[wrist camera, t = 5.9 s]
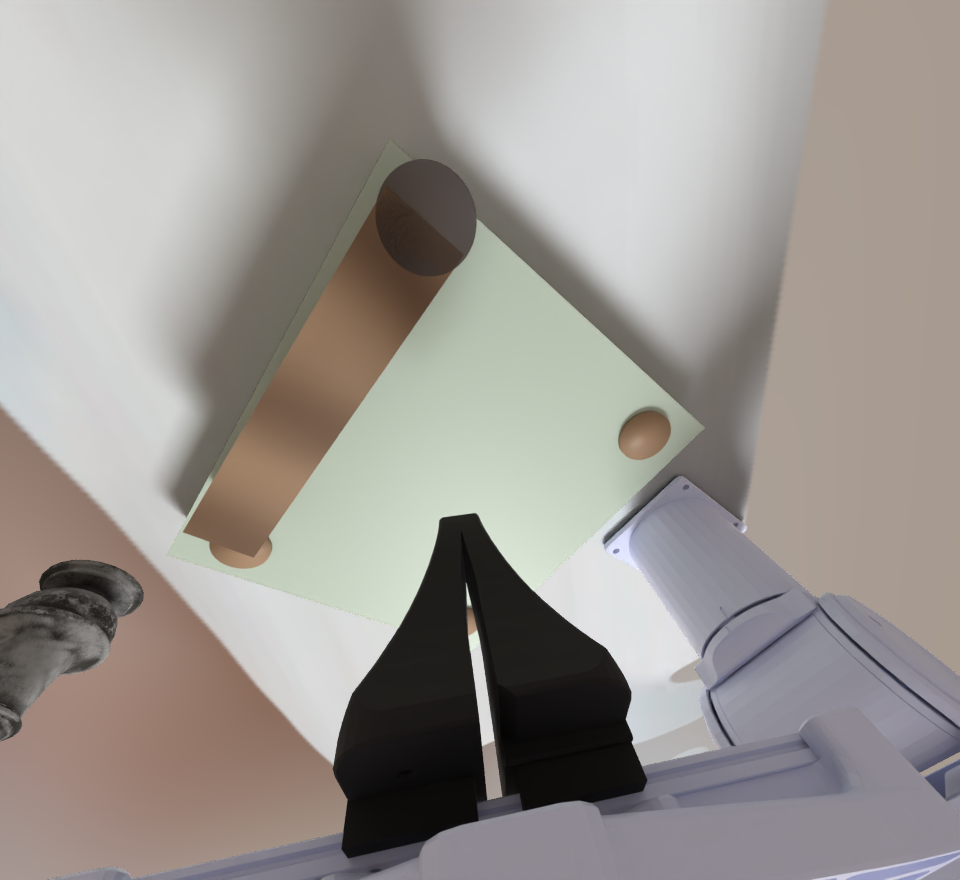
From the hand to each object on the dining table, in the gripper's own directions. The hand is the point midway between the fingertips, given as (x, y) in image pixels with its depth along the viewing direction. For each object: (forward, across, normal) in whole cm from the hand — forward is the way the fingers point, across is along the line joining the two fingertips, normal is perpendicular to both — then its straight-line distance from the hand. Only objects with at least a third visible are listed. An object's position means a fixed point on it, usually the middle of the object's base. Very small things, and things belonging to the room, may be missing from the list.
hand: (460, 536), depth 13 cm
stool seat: (+9, 0, +3) cm, 10 cm away
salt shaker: (+9, +23, +9) cm, 27 cm away
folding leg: (+6, +5, -5) cm, 9 cm away
